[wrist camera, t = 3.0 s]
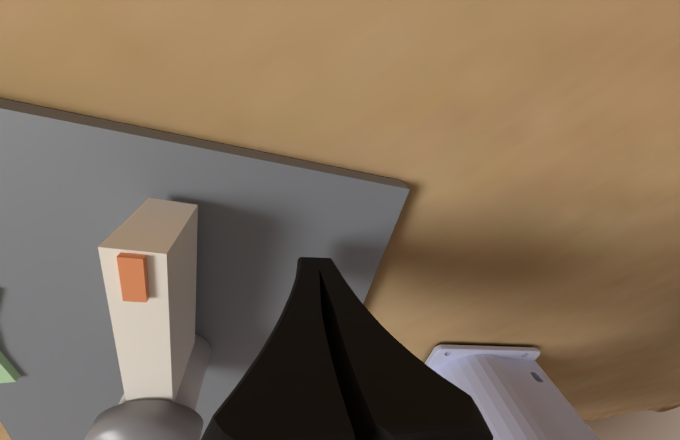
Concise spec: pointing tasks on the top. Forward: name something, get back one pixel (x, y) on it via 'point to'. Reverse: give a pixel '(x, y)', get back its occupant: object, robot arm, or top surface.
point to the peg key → (154, 324)
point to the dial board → (212, 252)
